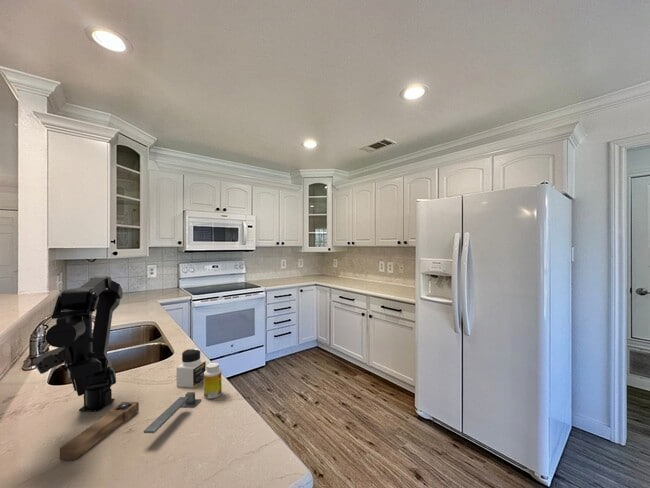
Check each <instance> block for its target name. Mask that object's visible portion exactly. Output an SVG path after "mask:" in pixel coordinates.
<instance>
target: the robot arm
mask: <svg viewBox="0 0 650 488" xmlns="http://www.w3.org/2000/svg"><path fill="white" fill-rule="evenodd" d="M123 295H124V294H123V288H122V286H121V284H120V283H118V282H116V281H115V280H113V279H112V278H111V276H108V275H107V276H93V277H91V278H89V280H88V281H86V282H85V283H83V284H82V285H81V286H79V287H75V288H74V287H73V288H66V289H64V290H63V291H61V293H60V294H58V296H57V298H56V302H55V306H54V309H53V313H52V315H51V319H52V320H53V319H55V320H56V324H54V325H52V326H51V327H50V328H48V330H47V331H46V332H45V333H46V334H45V336H44V337H45V341H46V343H47V344H48V345H49V346H51V347H53V348H54V349H51V350H49V351H47V352H45V353H43V354H41V355H39V356H37V357H35V358H33V359H32V362H33V364H34V366H35V367H36V369H37V371H38V372H39V373H40V375H42V374H45V373H47V372H49V370H51V369H53V368H56V367H58V366H59V365H60V368H61V369H62V370H63V371H65V372H67V373H65V375H66V376H67V378H68V379H69V380H70V381H71V383H72V387H73V390H74V392H76V393H77V396H79V397H82V396H83V406H82V407H81V408H79V409H78V411H79V412H95V413H96V412H99V411H101V410H102V409H105V407H107V406H109V405H111V403H113V402H114V401H115V400H116V399H115V398H112V395H113V393H112V389H111V388H112V386H113V385H115V384H117V376H116V372H115V369H114V368H113V366H112V364H113V363H112V361H111V360H110V358H109V357H108V351H109V350H108V348H109V341H110V334H111V327H112V319H113V312H114V311H115V310H116V309H117V308H118V307H119V306H120V302H121V299H122V298H123ZM94 312H95V316H94V323H93V313H94ZM61 364H62V365H61Z"/></svg>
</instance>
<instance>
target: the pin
mask: <svg viewBox="0 0 650 488" xmlns="http://www.w3.org/2000/svg"><path fill="white" fill-rule="evenodd" d="M125 402H126V403H122V404H120V403H119V404H120V405H119V404H118V405H119V406H118V408H120V410H126V409H127V408H128V406H129V403H128V402H129V401H125Z"/></svg>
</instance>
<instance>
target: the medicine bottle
mask: <svg viewBox="0 0 650 488" xmlns="http://www.w3.org/2000/svg"><path fill="white" fill-rule="evenodd" d="M181 360H182V361H181V363H180V364H179V365H178V366H176V386H177V387H180V388H191V389H194V388H196V387H197V386H199V384H200V383H203V382H204V372H205V371H206V366H207V364H206V363H207V362H206V360H205V359H201V350H200V349H199V348H196V347H195V348H188V349H185V350H184V351H182V353H181Z"/></svg>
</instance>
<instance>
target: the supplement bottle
mask: <svg viewBox="0 0 650 488" xmlns="http://www.w3.org/2000/svg"><path fill="white" fill-rule="evenodd" d="M222 391H223V390H222V369H221V368H220V364H219V363H218V362H211V363H208V364H206V371H205V372H204V380H203V396H204V398H205V399H208V400H211V399H216V398H218V397H220V395H221V394H222Z"/></svg>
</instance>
